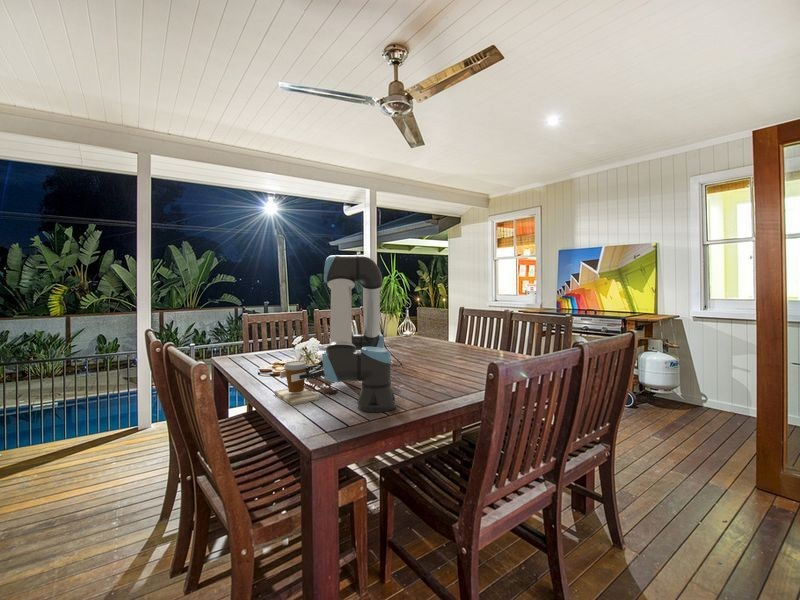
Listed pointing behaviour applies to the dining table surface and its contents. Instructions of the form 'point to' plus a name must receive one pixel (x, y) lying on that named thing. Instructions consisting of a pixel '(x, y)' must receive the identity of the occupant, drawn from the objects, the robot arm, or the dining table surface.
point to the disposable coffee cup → (295, 368)
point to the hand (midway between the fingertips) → (286, 376)
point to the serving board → (296, 396)
